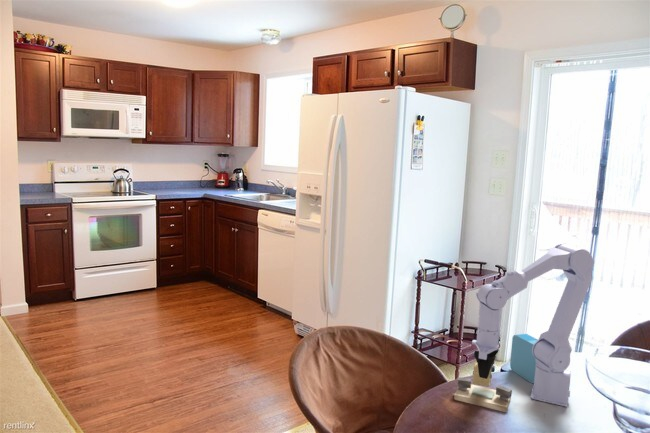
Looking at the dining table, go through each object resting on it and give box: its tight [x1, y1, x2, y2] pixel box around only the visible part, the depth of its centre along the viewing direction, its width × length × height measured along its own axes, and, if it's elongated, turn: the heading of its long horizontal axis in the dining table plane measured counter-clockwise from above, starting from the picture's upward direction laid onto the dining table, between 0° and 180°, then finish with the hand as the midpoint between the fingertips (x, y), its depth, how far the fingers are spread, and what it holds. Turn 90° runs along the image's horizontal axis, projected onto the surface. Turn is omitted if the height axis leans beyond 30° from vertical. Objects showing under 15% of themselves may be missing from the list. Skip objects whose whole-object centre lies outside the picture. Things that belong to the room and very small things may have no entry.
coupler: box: [472, 362, 493, 388], centre depth 142 cm, size 5×3×5 cm, turn 64°
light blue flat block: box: [509, 333, 538, 385], centre depth 158 cm, size 12×4×12 cm, turn 18°
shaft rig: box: [453, 376, 513, 413], centre depth 143 cm, size 15×9×4 cm, turn 64°
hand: (484, 375), depth 142 cm, fingers closed on coupler, 3 cm apart
